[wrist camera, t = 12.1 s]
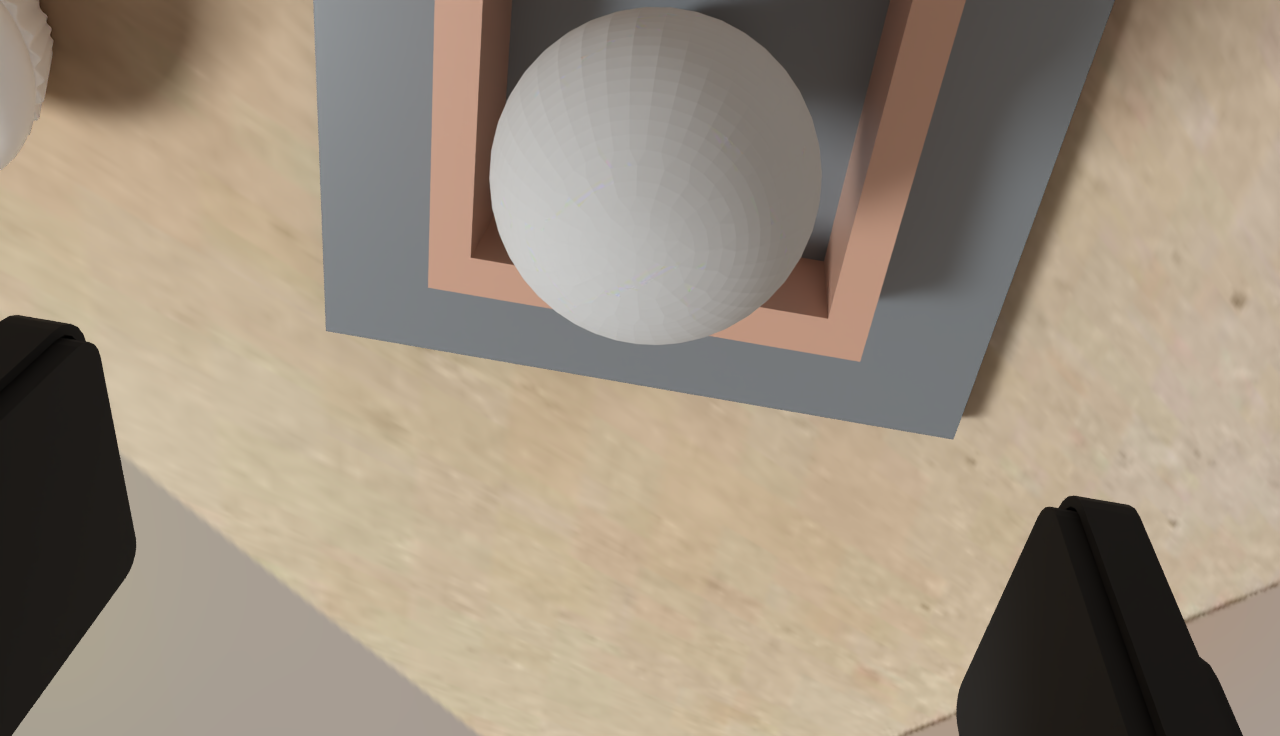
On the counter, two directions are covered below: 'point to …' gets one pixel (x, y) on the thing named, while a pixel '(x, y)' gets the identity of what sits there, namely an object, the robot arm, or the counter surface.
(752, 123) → the light bulb
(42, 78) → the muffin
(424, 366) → the counter surface
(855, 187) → the holder board
